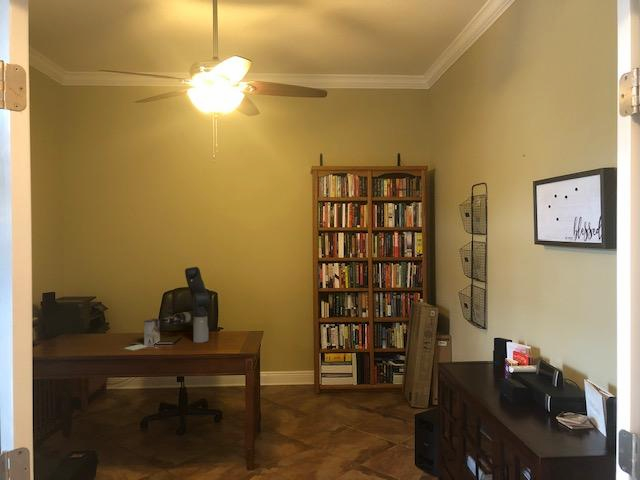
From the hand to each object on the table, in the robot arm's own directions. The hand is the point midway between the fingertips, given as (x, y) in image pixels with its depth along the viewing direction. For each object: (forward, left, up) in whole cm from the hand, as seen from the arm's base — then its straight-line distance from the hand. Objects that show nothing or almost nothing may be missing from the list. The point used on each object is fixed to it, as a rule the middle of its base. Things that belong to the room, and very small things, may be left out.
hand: (165, 321), depth 319 cm
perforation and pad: (+23, +4, -13) cm, 27 cm away
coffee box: (+11, 0, -13) cm, 17 cm away
